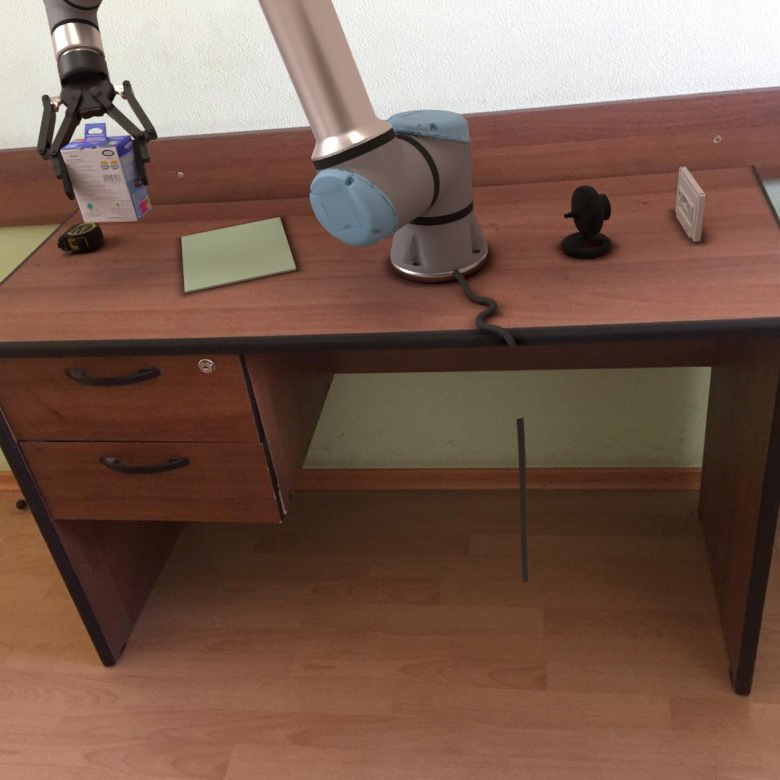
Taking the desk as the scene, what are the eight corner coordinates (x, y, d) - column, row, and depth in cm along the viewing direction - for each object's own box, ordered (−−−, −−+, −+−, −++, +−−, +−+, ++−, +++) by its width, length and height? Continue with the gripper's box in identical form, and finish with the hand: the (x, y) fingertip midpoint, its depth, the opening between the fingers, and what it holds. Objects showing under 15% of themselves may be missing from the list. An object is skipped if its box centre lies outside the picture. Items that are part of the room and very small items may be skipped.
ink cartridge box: (154, 208, 135) (128, 118, 127) (139, 222, 131) (111, 131, 122) (100, 209, 137) (70, 122, 129) (83, 224, 133) (52, 134, 125)
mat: (296, 270, 134) (296, 268, 134) (185, 293, 132) (184, 291, 132) (280, 219, 152) (279, 216, 152) (181, 238, 150) (181, 236, 150)
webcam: (620, 252, 127) (623, 190, 121) (575, 263, 125) (576, 201, 120) (596, 233, 133) (598, 173, 127) (553, 243, 132) (553, 183, 126)
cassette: (703, 242, 126) (709, 194, 122) (691, 243, 126) (696, 195, 122) (683, 210, 136) (688, 165, 132) (672, 211, 136) (676, 166, 132)
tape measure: (78, 239, 155) (71, 220, 153) (112, 237, 154) (105, 219, 152) (60, 255, 150) (53, 236, 148) (95, 254, 148) (88, 235, 146)
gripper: (159, 62, 137) (186, 184, 133) (15, 88, 134) (39, 213, 131) (149, 34, 130) (178, 163, 126) (-3, 61, 127) (22, 193, 123)
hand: (107, 189), depth 128 cm, fingers closed on ink cartridge box, 11 cm apart
